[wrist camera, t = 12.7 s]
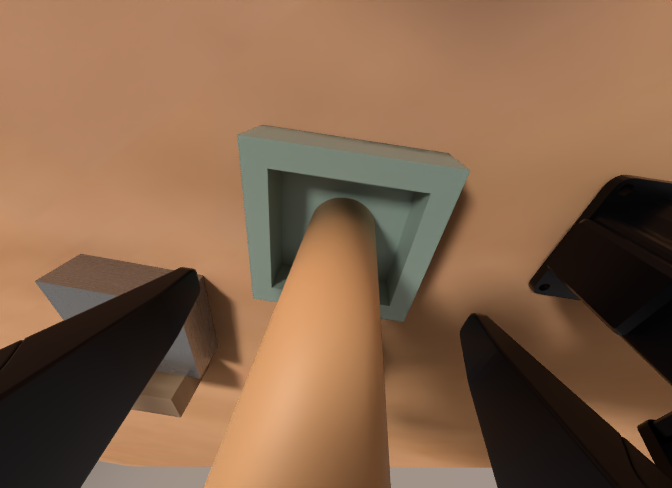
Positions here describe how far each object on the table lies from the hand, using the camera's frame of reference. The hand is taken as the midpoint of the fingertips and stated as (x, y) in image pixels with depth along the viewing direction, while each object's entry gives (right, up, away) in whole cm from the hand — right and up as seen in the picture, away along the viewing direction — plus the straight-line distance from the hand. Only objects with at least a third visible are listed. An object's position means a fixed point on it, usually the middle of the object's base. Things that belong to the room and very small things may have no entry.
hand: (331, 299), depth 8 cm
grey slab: (-13, -3, +10) cm, 17 cm away
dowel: (0, +3, +4) cm, 5 cm away
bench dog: (-13, -8, +13) cm, 20 cm away
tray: (+1, +3, +5) cm, 6 cm away
